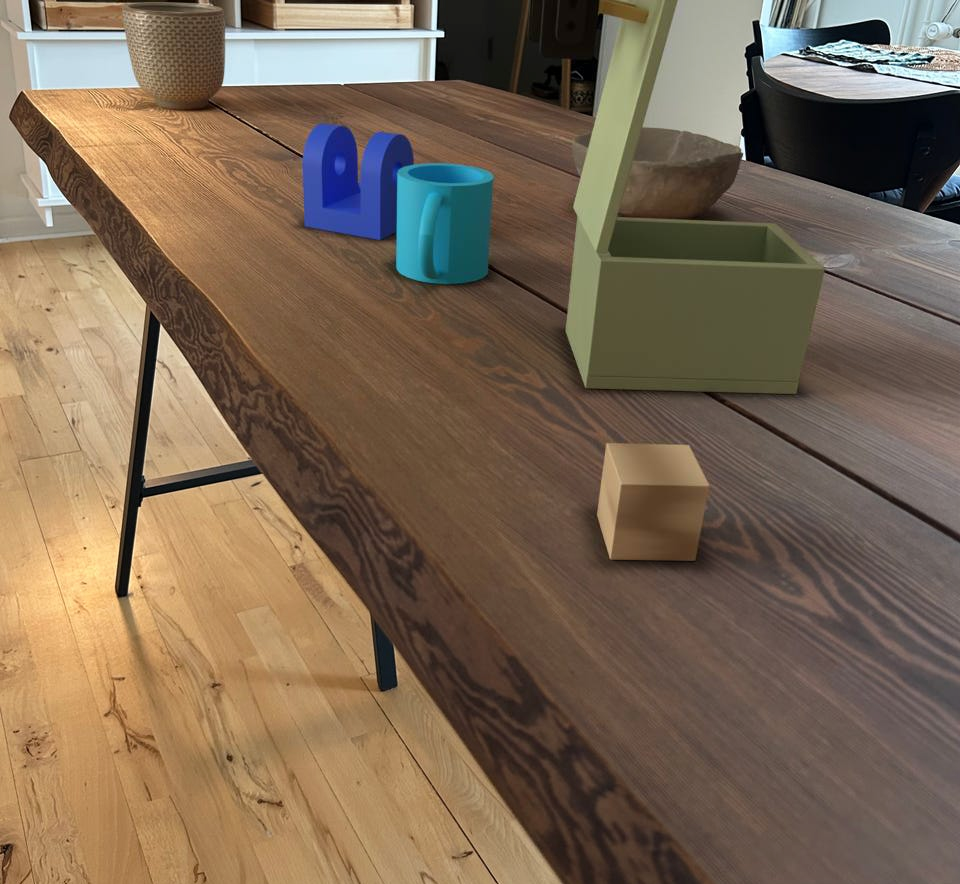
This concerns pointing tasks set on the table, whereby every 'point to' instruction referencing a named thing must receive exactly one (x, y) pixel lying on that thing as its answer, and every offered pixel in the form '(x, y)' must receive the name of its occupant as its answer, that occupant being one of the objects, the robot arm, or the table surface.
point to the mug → (443, 222)
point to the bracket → (352, 181)
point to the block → (651, 502)
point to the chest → (692, 307)
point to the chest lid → (621, 112)
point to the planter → (176, 51)
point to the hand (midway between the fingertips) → (558, 47)
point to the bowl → (672, 173)
